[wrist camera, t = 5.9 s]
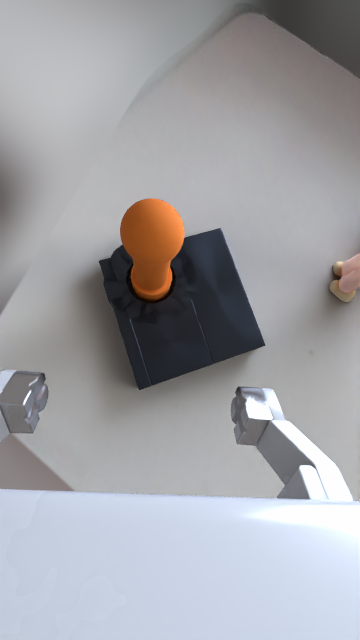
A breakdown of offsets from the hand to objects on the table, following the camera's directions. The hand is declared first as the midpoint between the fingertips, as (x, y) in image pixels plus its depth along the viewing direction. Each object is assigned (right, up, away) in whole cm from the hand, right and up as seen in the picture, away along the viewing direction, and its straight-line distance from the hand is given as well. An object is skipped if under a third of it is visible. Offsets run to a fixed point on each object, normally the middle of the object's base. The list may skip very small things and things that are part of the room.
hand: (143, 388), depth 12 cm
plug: (-1, +6, +15) cm, 16 cm away
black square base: (+2, +4, +15) cm, 16 cm away
